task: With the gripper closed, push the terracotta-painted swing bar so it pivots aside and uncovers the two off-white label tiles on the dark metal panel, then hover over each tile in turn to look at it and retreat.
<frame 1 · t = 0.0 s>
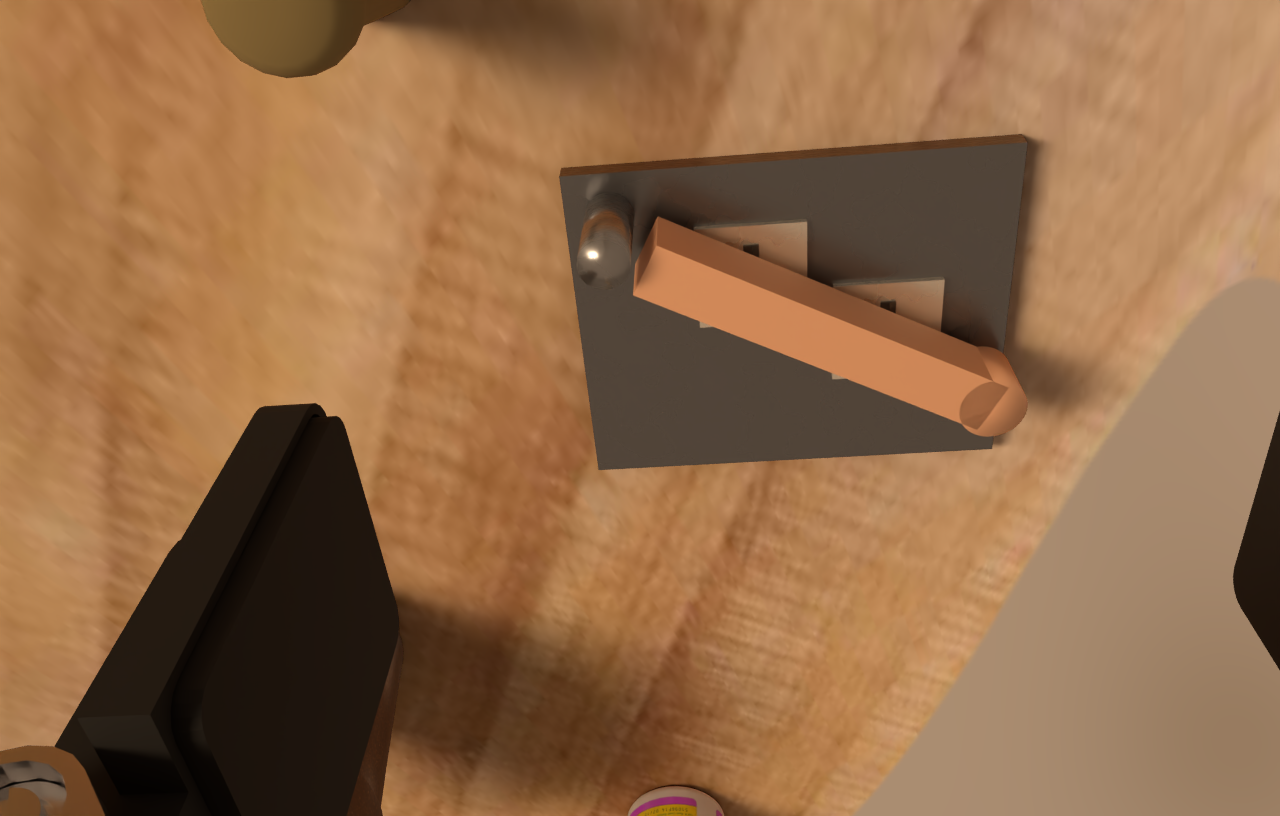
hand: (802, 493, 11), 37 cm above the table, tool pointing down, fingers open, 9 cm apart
swing bar: (836, 331, 48), point 3 cm above the table, hinge at 62.0°
supplement bottle: (676, 810, 73), on the table
panel: (789, 312, 51), on the table
plant pot: (307, 633, 64), on the table
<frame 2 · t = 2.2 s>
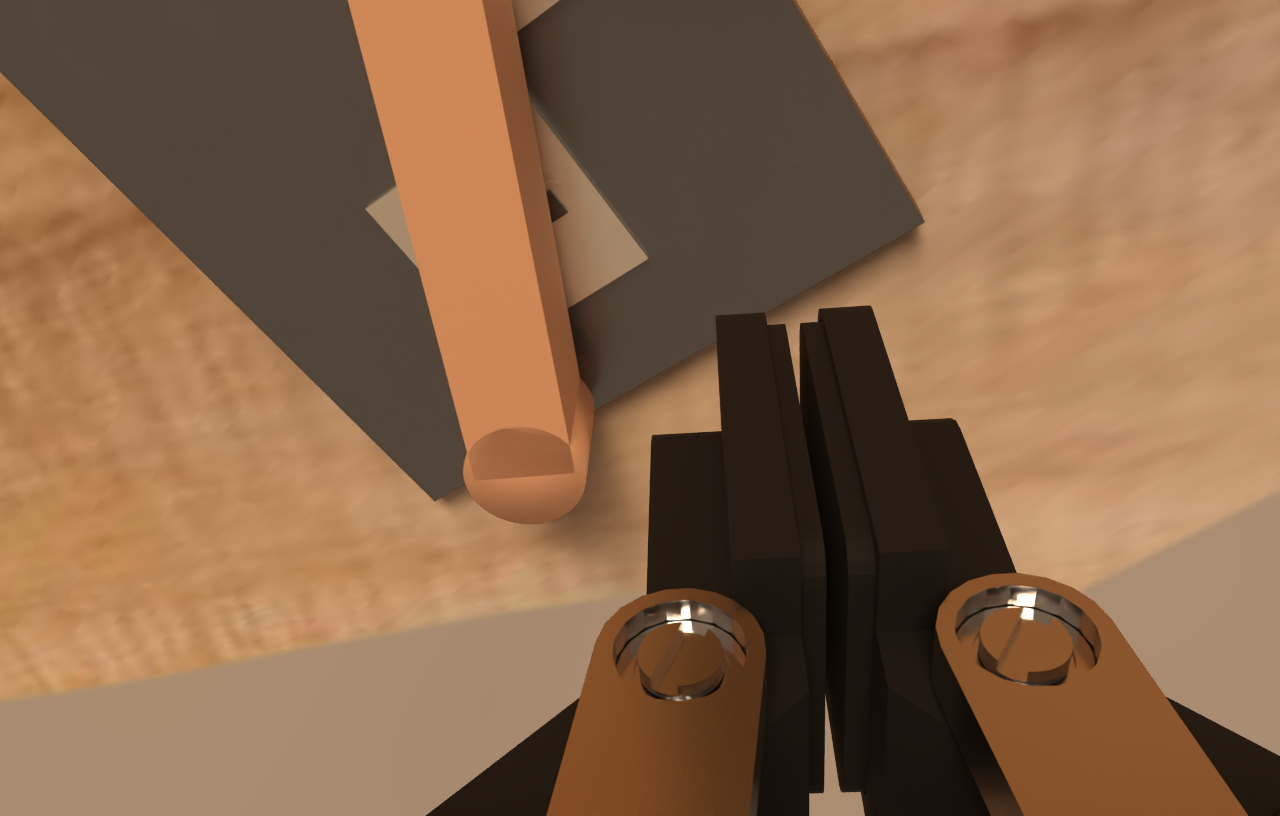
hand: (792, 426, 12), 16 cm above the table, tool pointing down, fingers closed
swing bar: (467, 150, 23), point 4 cm above the table, hinge at 62.0°
panel: (419, 56, 25), on the table
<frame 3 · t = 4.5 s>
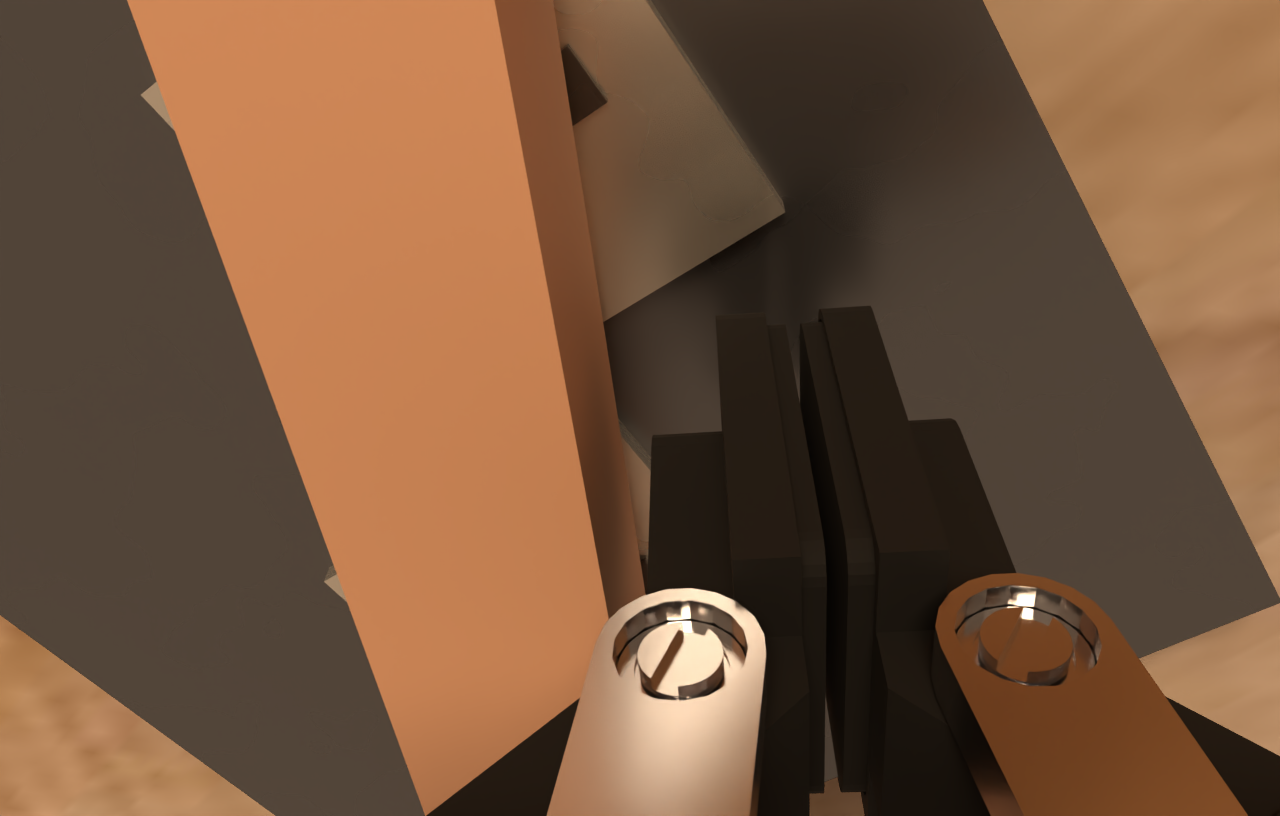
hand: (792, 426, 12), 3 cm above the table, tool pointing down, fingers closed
swing bar: (512, 566, 12), point 3 cm above the table, hinge at 62.0°, touching gripper
panel: (417, 334, 14), on the table
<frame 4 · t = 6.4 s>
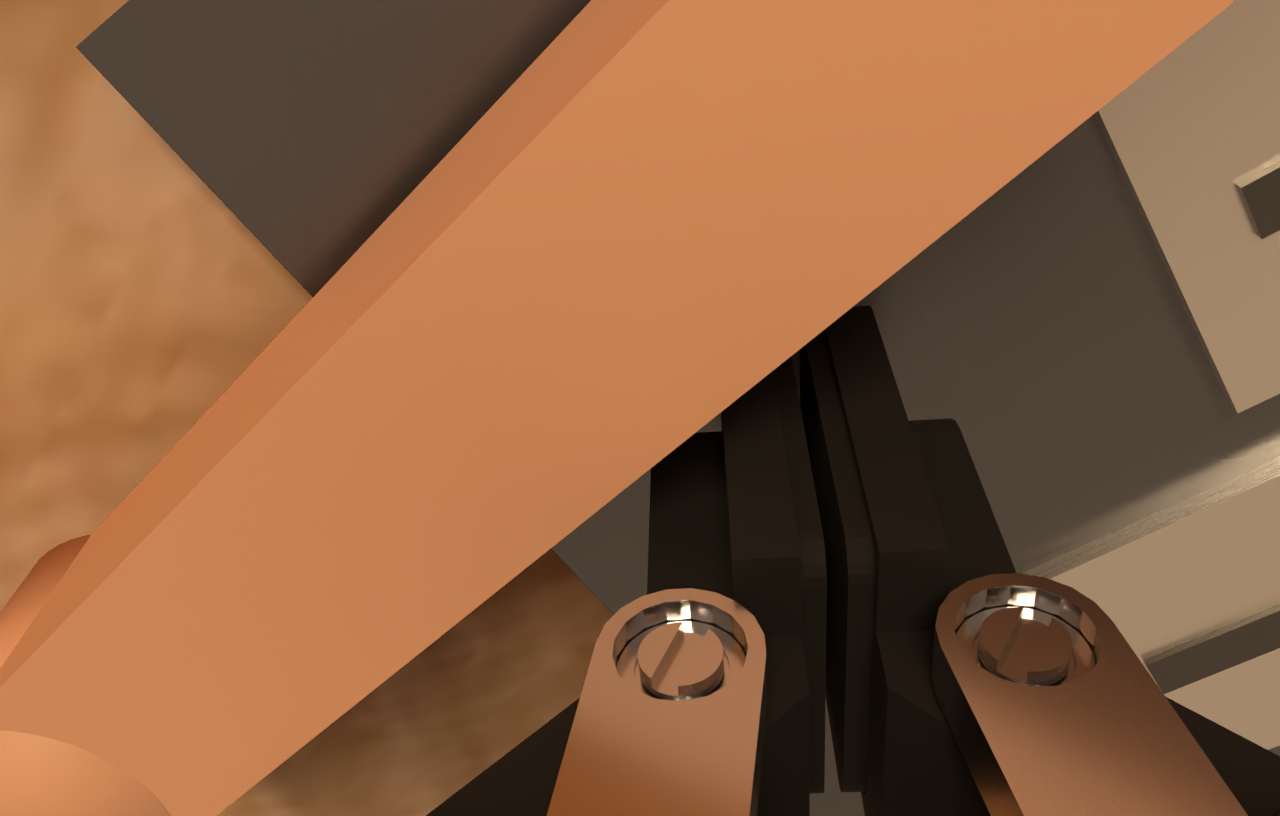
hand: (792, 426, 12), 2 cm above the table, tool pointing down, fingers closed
swing bar: (542, 295, 10), point 4 cm above the table, hinge at 10.4°, touching gripper
panel: (1157, 326, 14), on the table
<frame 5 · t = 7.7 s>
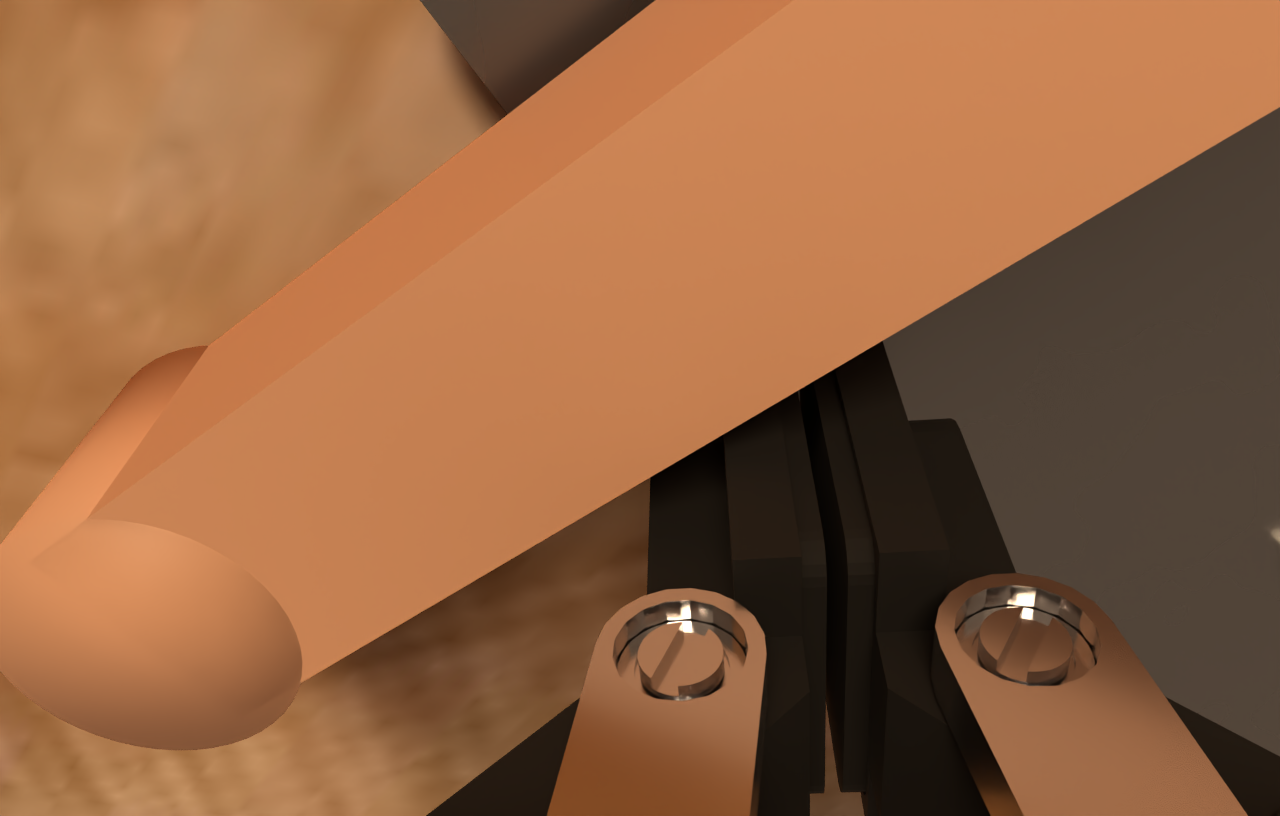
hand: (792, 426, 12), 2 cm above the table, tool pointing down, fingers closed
swing bar: (831, 106, 9), point 3 cm above the table, hinge at 2.0°, touching gripper
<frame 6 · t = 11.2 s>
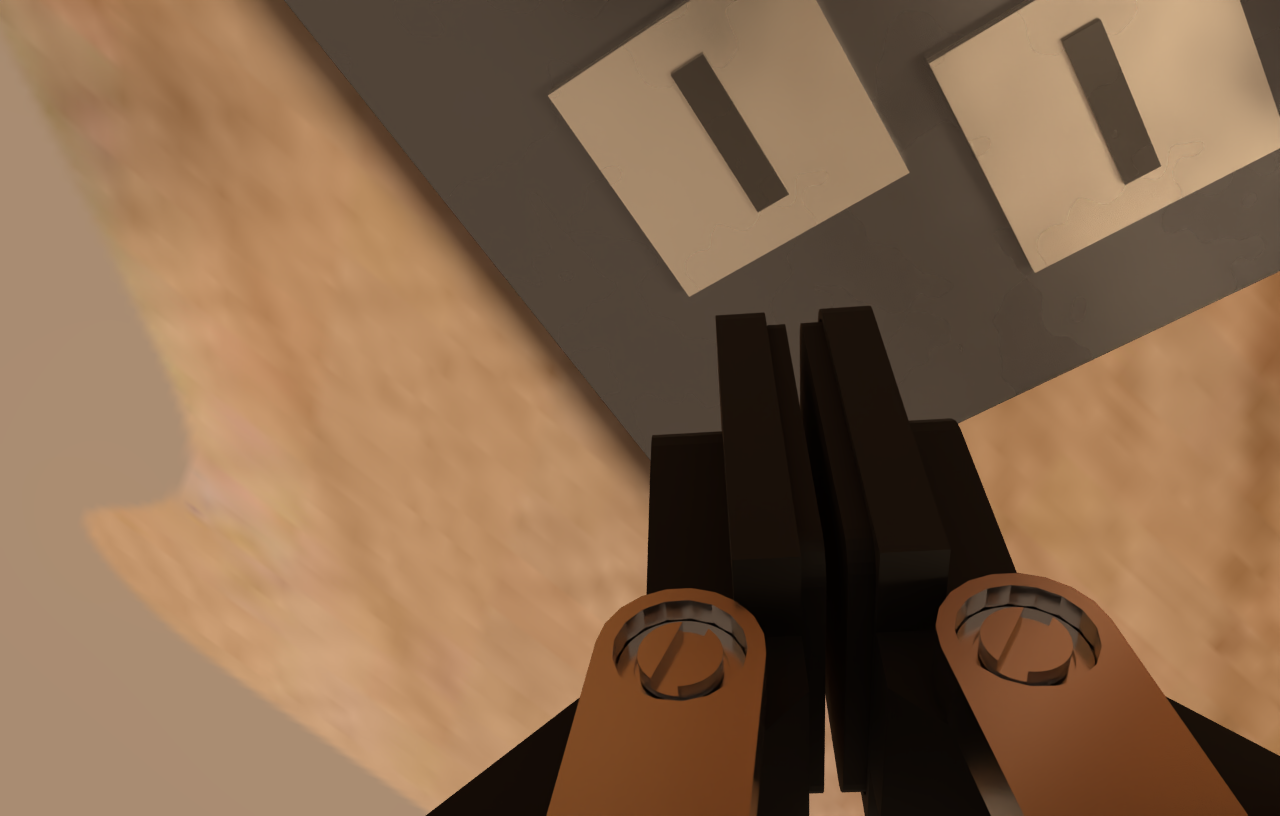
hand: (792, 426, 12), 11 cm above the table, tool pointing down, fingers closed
panel: (945, 14, 20), on the table
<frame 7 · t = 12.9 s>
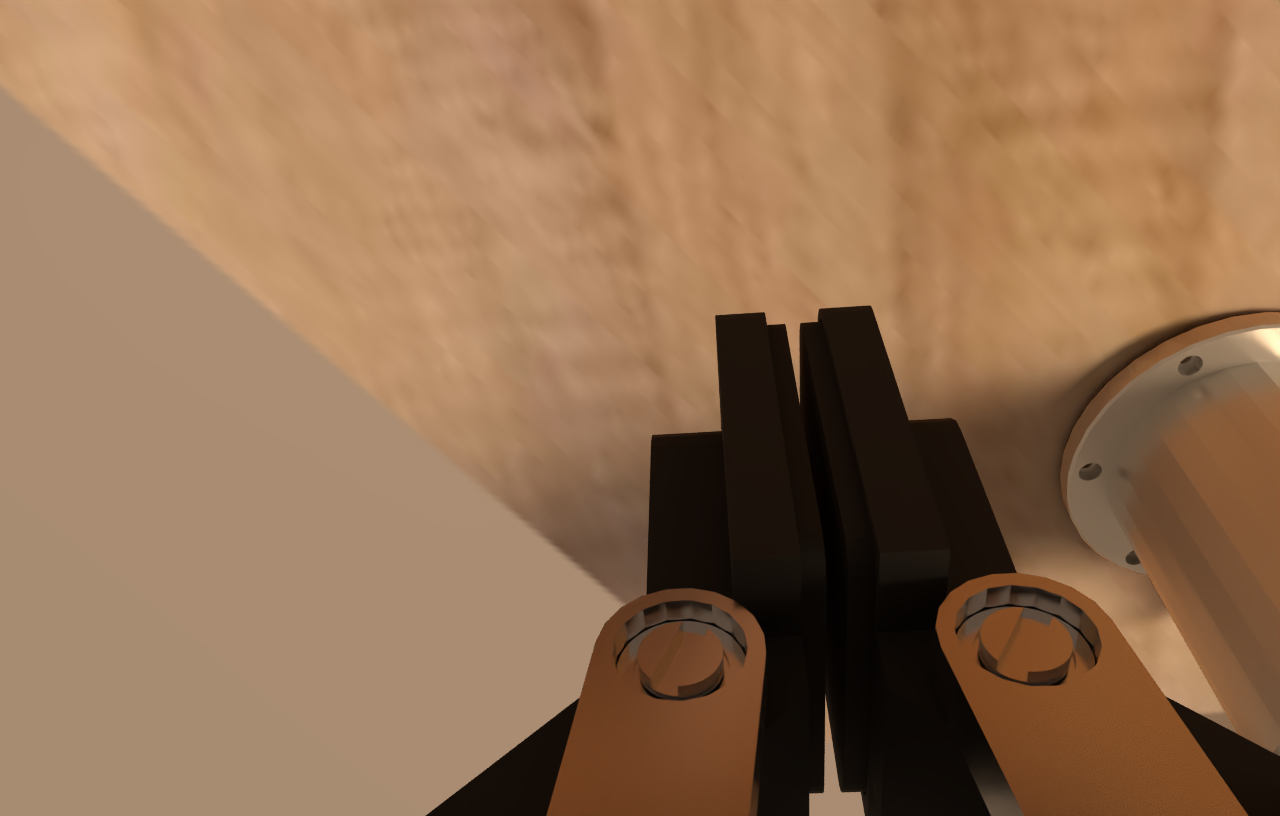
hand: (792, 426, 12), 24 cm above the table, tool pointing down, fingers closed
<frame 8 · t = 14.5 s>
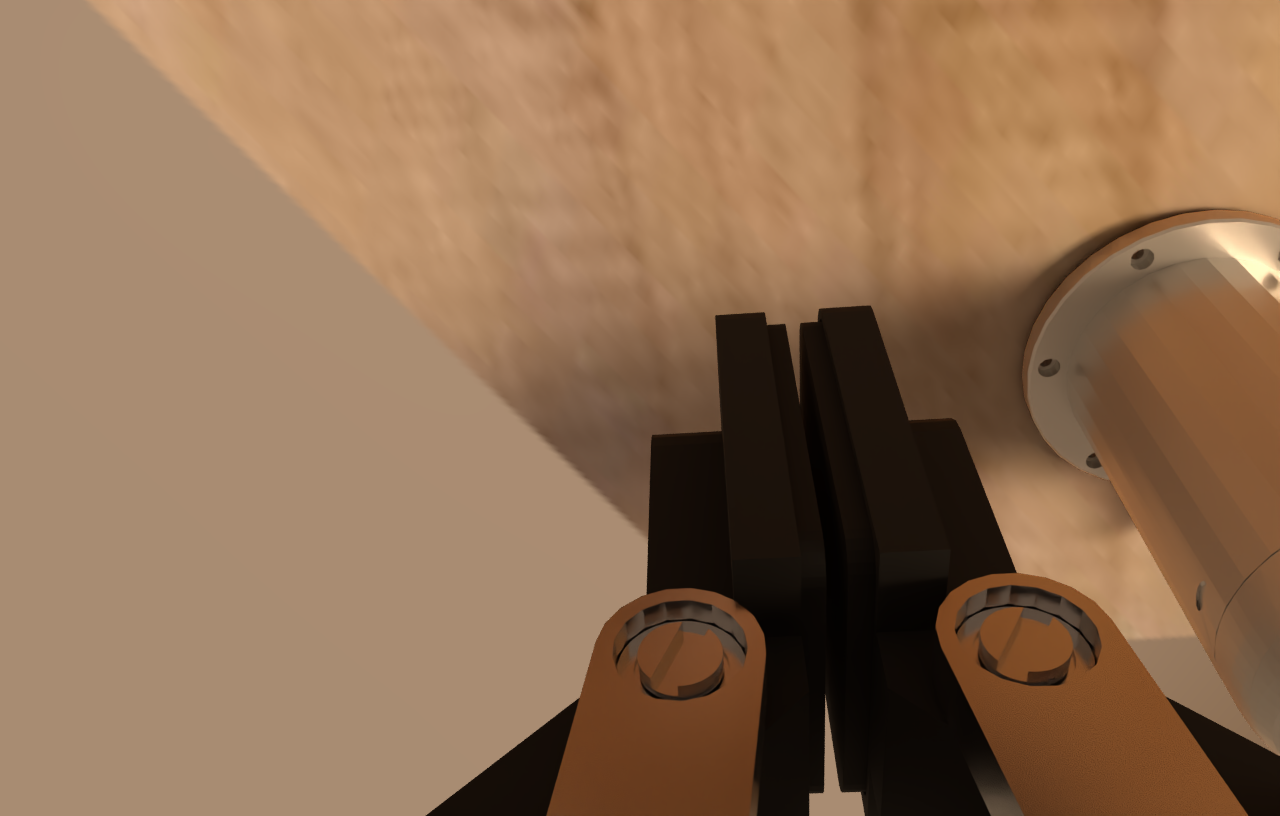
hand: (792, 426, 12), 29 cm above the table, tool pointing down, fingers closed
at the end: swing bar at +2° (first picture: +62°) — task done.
